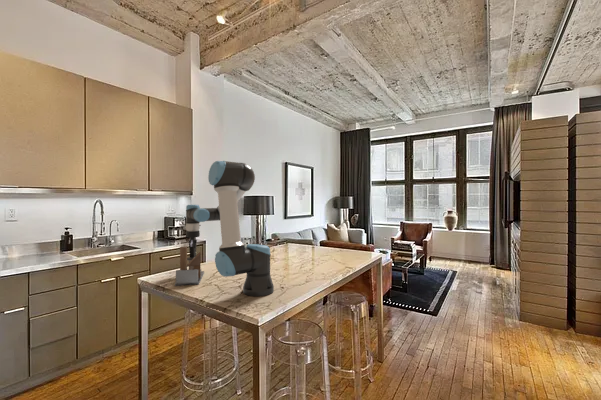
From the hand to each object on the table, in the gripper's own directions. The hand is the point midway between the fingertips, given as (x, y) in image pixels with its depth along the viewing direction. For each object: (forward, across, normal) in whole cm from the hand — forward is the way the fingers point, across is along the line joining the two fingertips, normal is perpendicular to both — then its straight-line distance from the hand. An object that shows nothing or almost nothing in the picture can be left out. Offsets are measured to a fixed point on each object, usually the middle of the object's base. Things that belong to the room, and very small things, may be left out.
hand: (193, 269), depth 168 cm
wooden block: (+2, -11, 0) cm, 11 cm away
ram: (+2, -6, 0) cm, 6 cm away
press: (+3, -8, 0) cm, 9 cm away
